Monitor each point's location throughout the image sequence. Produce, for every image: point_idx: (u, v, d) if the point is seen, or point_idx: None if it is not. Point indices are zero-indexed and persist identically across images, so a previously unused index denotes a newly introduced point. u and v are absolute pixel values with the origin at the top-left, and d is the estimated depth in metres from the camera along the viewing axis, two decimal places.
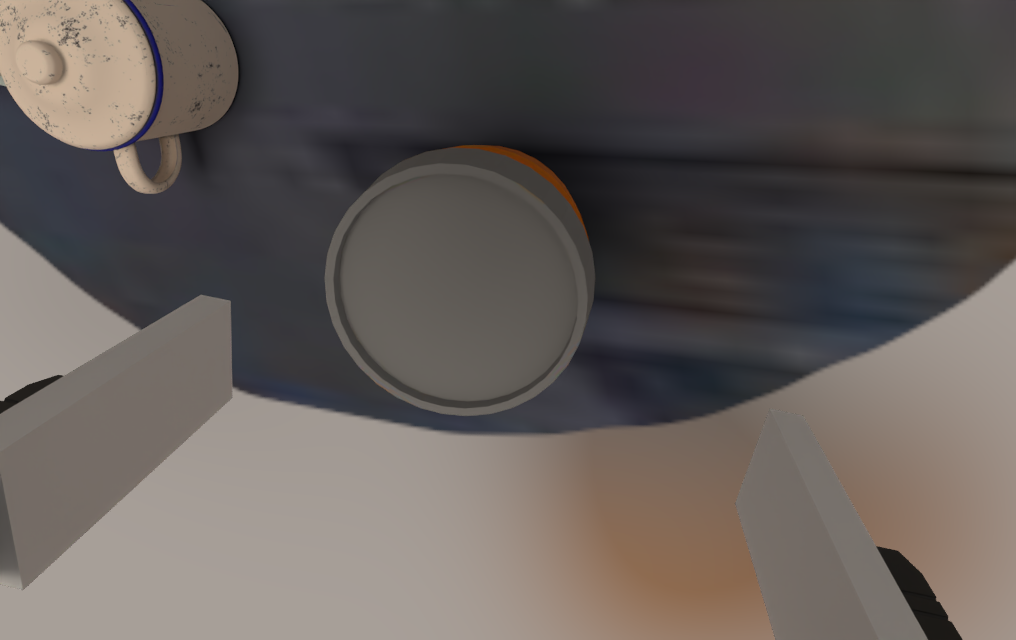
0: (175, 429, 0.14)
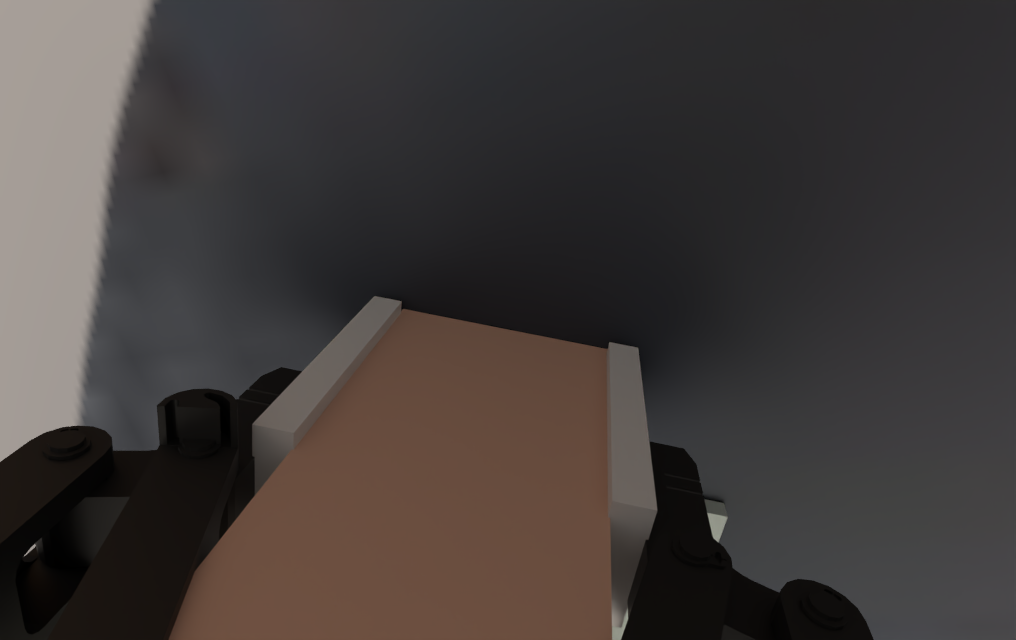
0: None
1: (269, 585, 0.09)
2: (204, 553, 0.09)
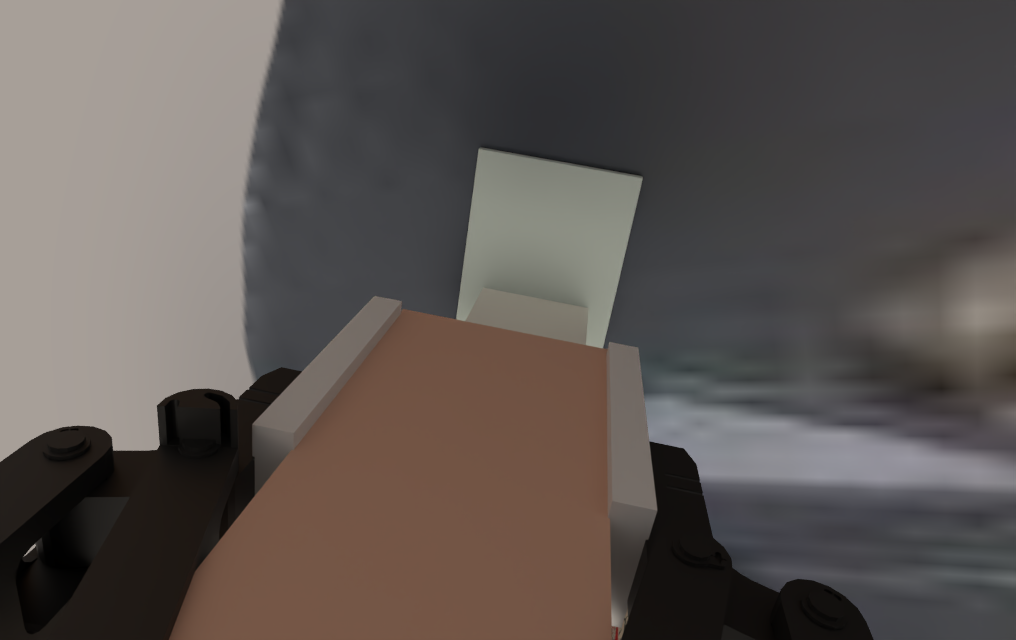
0: None
1: (269, 585, 0.09)
2: (204, 553, 0.09)
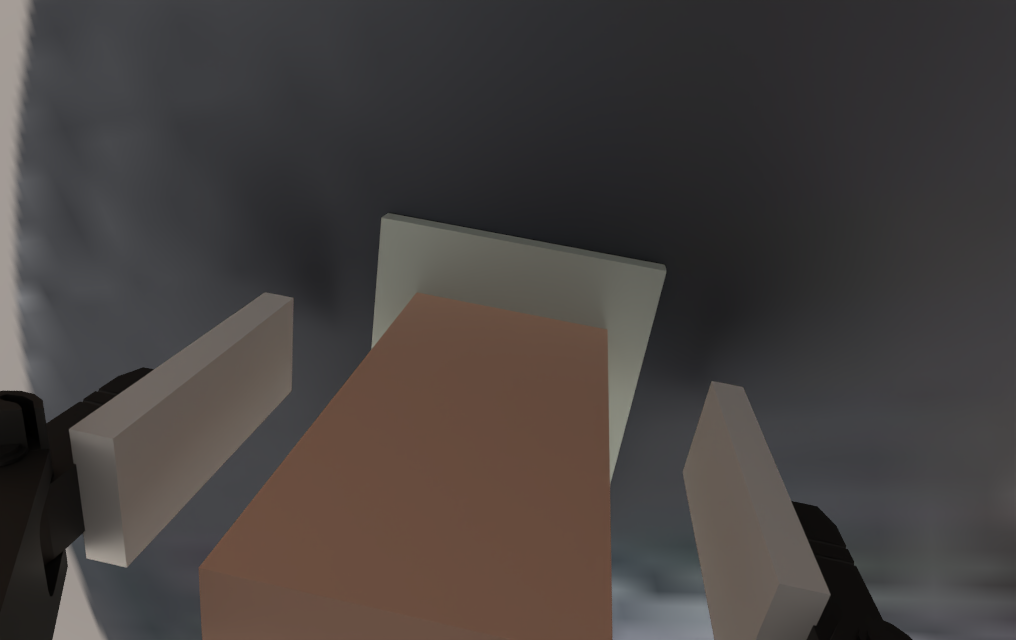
0: (246, 420, 0.15)
1: (312, 518, 0.10)
2: (25, 559, 0.08)
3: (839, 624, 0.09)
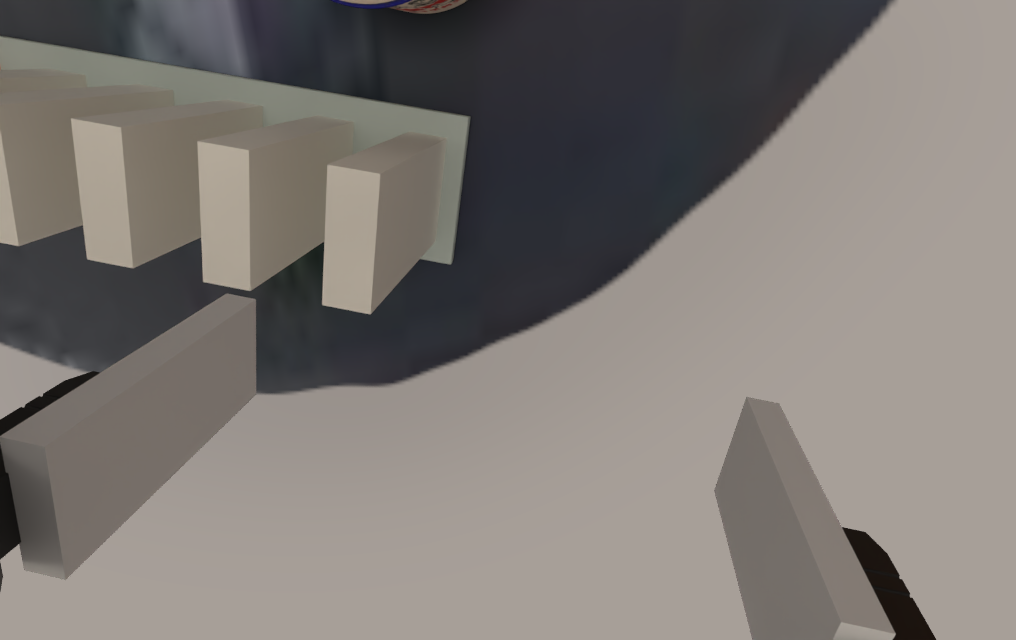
0: (204, 425, 0.14)
1: None
2: None
3: None
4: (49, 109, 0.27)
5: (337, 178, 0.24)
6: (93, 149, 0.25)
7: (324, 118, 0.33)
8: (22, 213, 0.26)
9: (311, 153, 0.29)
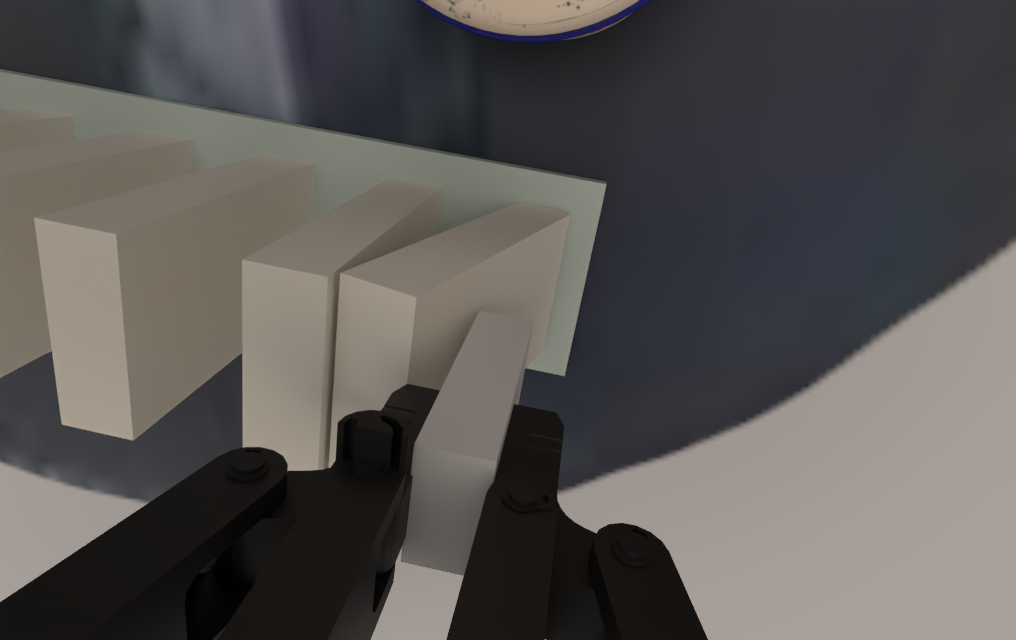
0: None
1: None
2: (362, 580, 0.09)
3: (487, 493, 0.11)
4: (6, 188, 0.17)
5: (353, 295, 0.15)
6: (71, 266, 0.15)
7: (403, 183, 0.24)
8: None
9: (398, 247, 0.20)
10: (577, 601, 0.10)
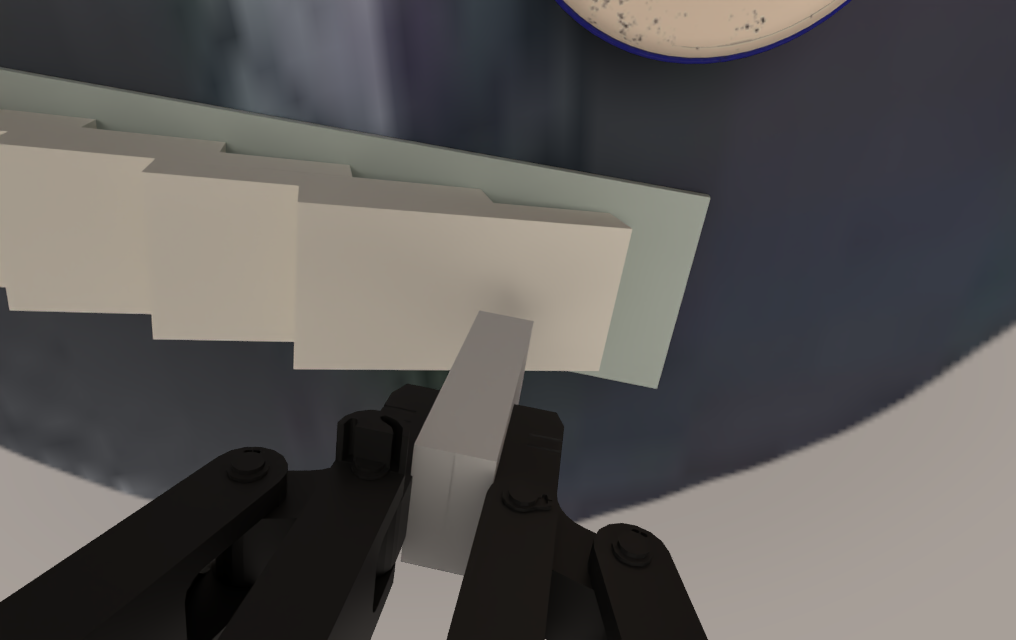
0: None
1: None
2: (361, 580, 0.09)
3: (487, 493, 0.11)
4: None
5: None
6: None
7: (467, 191, 0.24)
8: None
9: None
10: (577, 601, 0.10)
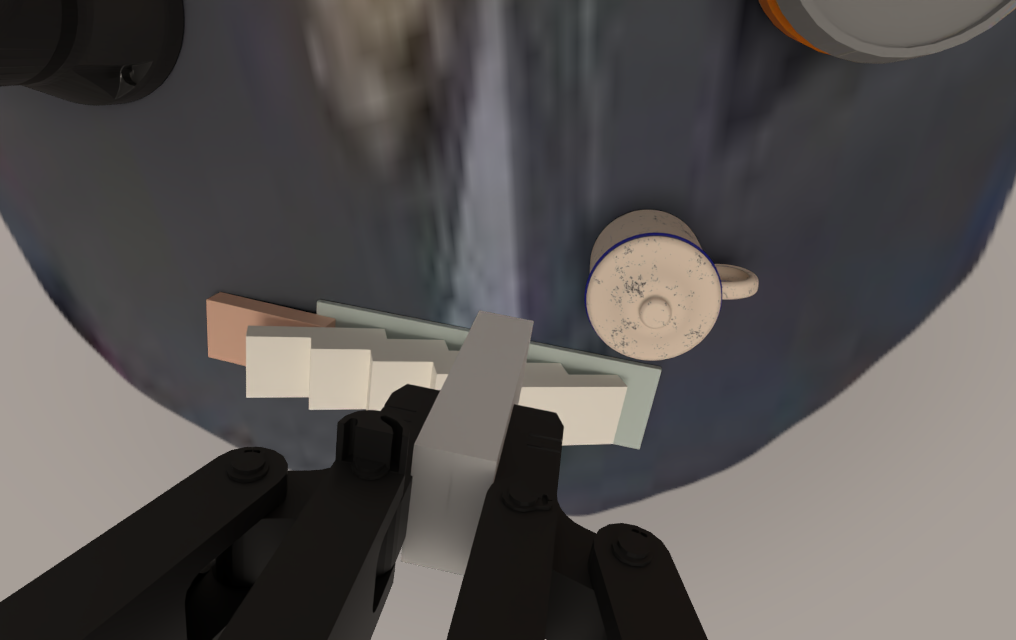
0: None
1: None
2: (362, 580, 0.09)
3: (487, 493, 0.11)
4: (343, 353, 0.51)
5: None
6: (370, 365, 0.52)
7: (555, 366, 0.54)
8: (315, 396, 0.52)
9: None
10: (577, 601, 0.10)
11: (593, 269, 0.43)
